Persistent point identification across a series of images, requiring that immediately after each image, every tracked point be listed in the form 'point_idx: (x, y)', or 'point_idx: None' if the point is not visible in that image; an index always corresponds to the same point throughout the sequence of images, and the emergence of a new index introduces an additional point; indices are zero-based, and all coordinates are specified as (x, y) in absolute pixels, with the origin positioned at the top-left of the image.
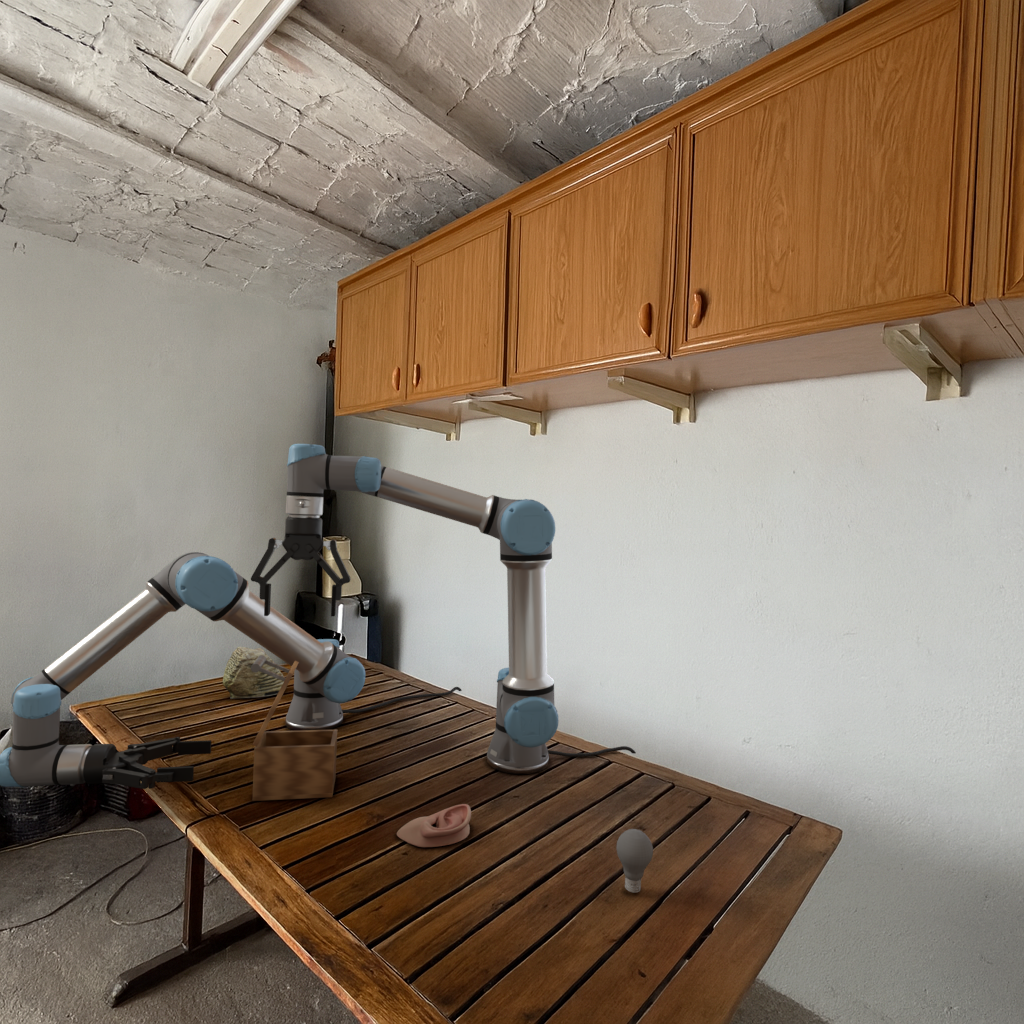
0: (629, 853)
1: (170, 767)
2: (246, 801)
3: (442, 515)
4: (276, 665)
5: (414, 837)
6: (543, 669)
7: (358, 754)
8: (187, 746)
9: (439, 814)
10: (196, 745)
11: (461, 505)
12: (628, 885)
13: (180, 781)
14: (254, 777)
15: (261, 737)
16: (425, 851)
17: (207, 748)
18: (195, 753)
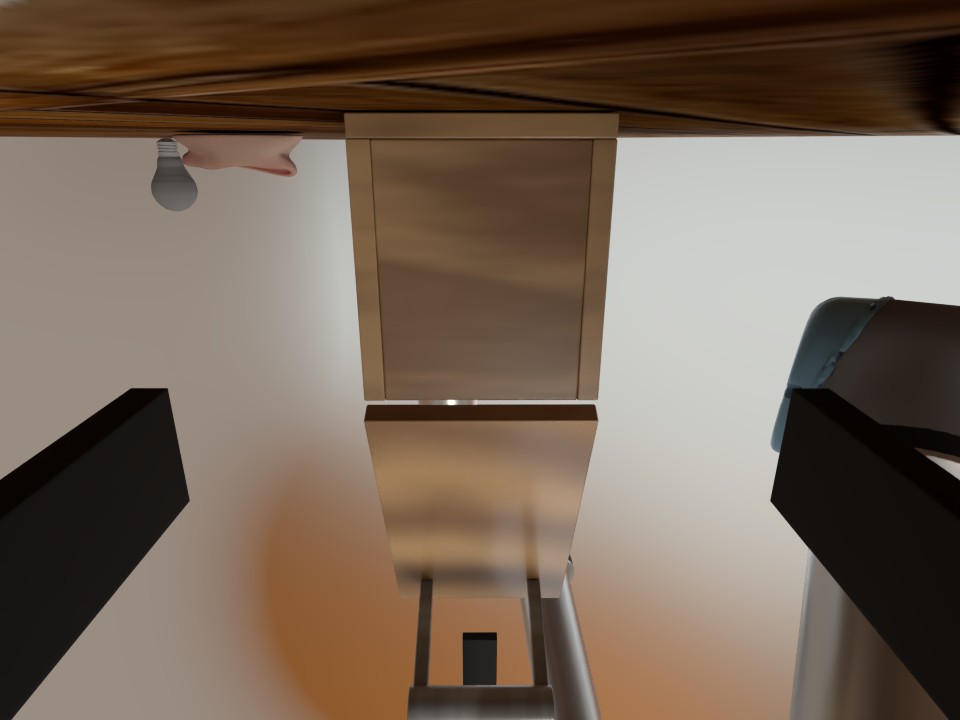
0: (153, 195)
1: (52, 655)
2: (339, 108)
3: (546, 627)
4: (530, 637)
5: (190, 145)
6: None
7: (736, 127)
8: (935, 630)
9: (262, 166)
10: (851, 556)
11: (523, 619)
12: (158, 148)
13: (62, 439)
14: (355, 252)
15: (508, 397)
16: (165, 131)
17: (794, 453)
18: (880, 471)
